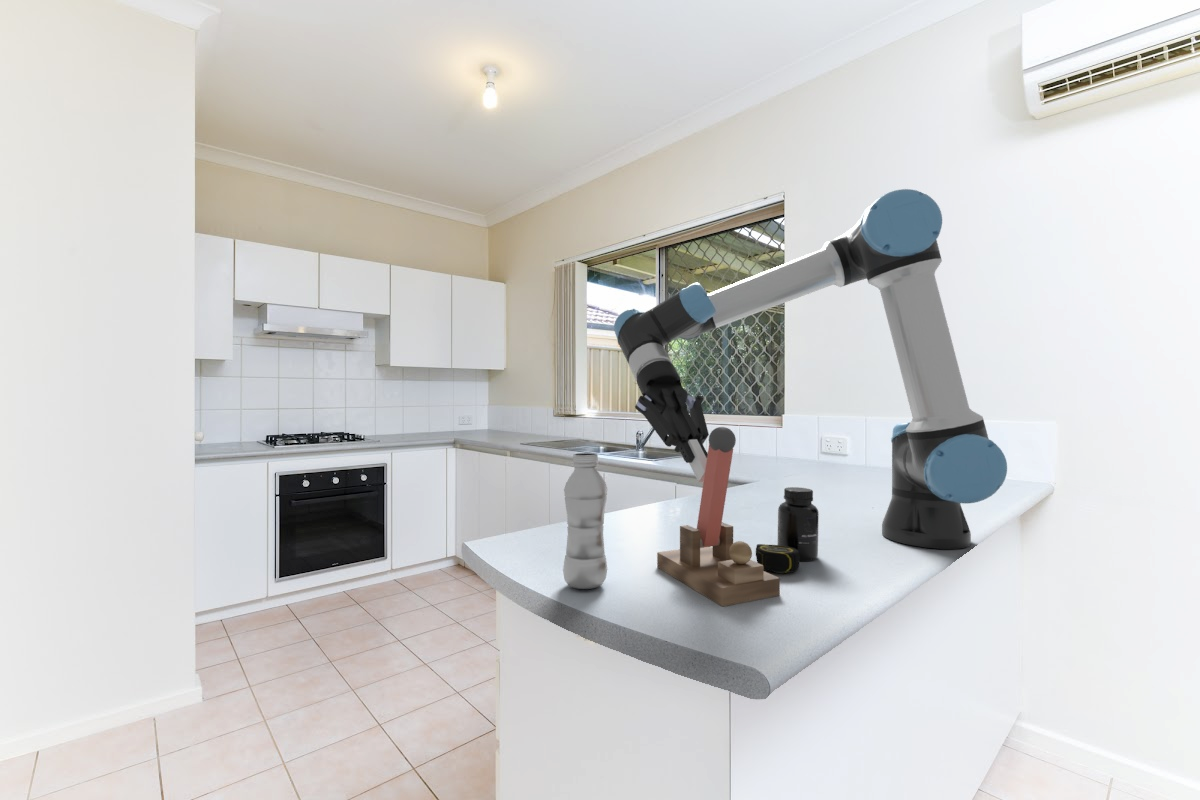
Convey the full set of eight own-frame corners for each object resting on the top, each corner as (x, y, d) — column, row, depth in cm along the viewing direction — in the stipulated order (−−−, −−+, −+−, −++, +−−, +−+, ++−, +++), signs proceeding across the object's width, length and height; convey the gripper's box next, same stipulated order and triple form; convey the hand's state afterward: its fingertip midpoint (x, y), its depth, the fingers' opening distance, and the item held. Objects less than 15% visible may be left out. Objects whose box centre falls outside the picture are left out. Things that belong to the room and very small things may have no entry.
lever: (688, 541, 87) (705, 423, 82) (709, 539, 89) (727, 423, 84) (702, 554, 84) (720, 431, 79) (723, 551, 85) (743, 431, 80)
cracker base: (657, 567, 90) (657, 519, 90) (707, 559, 94) (707, 514, 94) (722, 606, 74) (722, 548, 74) (779, 595, 78) (779, 540, 78)
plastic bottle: (558, 581, 84) (558, 452, 83) (600, 577, 86) (599, 451, 85) (569, 596, 77) (568, 457, 77) (613, 591, 80) (613, 455, 79)
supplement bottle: (811, 564, 92) (812, 494, 91) (771, 557, 96) (772, 489, 96) (823, 555, 97) (823, 488, 97) (784, 548, 101) (785, 484, 101)
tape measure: (797, 565, 92) (797, 543, 92) (801, 579, 85) (801, 555, 85) (755, 562, 94) (755, 540, 93) (756, 575, 87) (756, 552, 87)
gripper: (677, 387, 105) (729, 487, 90) (616, 387, 100) (661, 493, 85) (692, 359, 100) (750, 459, 85) (629, 357, 95) (678, 464, 80)
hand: (705, 476), depth 85 cm, fingers closed
